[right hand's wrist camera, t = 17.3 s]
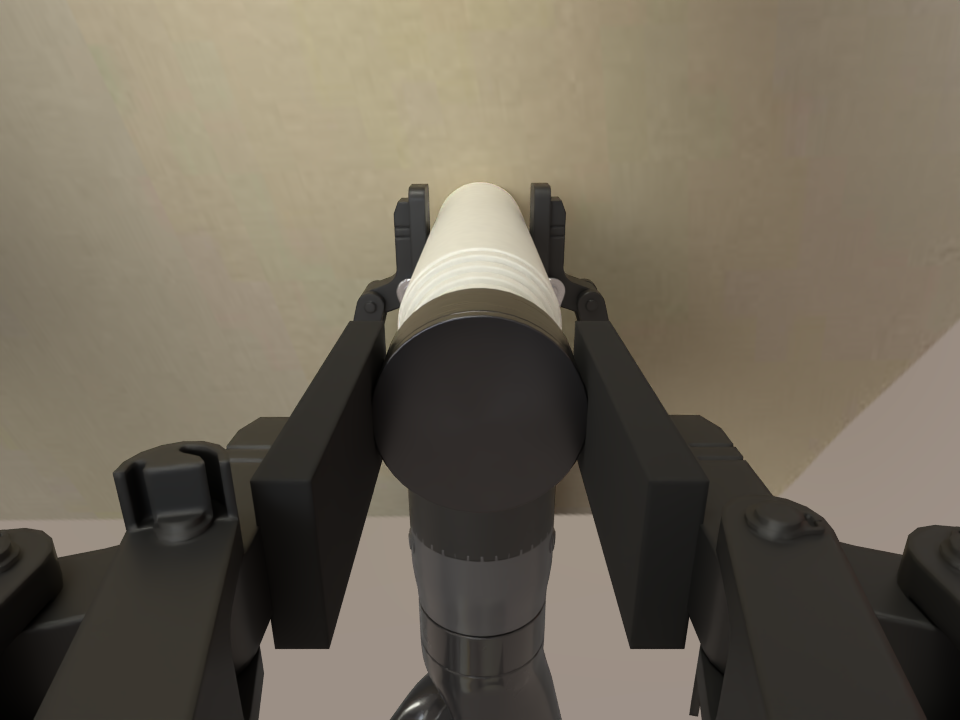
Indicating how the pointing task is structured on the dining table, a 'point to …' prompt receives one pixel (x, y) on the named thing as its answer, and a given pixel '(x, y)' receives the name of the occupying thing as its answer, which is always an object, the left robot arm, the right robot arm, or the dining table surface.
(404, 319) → the bottle
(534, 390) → the cap
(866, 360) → the dining table surface
